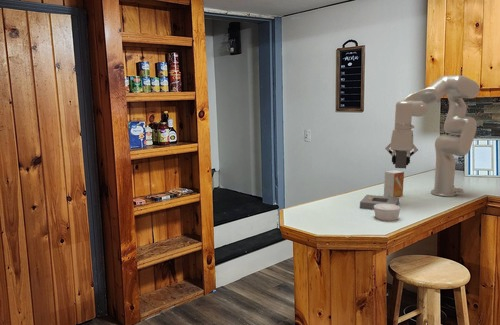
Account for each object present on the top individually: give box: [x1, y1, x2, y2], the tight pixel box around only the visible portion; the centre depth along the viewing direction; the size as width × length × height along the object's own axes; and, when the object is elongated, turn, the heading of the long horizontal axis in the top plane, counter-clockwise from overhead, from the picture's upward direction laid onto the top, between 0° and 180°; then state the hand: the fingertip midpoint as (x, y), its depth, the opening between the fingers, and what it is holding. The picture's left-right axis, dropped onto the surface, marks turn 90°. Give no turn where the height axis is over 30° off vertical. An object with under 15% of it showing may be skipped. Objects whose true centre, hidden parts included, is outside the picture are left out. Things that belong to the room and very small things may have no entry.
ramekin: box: [373, 203, 401, 222], centre depth 193 cm, size 11×11×5 cm
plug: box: [394, 151, 408, 169], centre depth 213 cm, size 5×5×9 cm
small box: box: [383, 169, 405, 198], centre depth 232 cm, size 8×6×13 cm
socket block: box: [359, 194, 400, 211], centre depth 212 cm, size 16×16×3 cm
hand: (400, 164), depth 213 cm, fingers closed on plug, 5 cm apart
